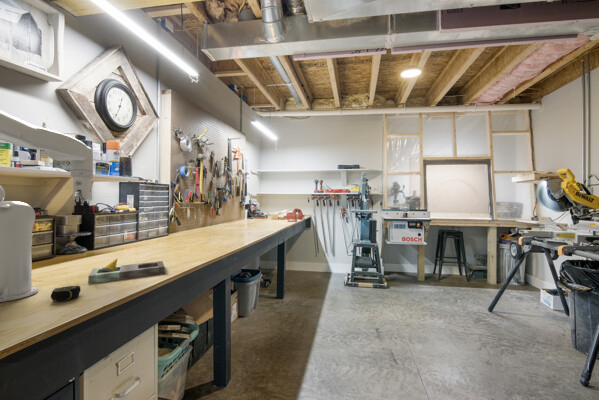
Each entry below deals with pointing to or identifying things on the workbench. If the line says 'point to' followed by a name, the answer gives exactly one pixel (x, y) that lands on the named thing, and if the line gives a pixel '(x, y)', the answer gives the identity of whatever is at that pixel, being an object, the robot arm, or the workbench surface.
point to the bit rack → (127, 272)
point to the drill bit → (109, 267)
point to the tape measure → (65, 293)
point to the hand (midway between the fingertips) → (82, 214)
